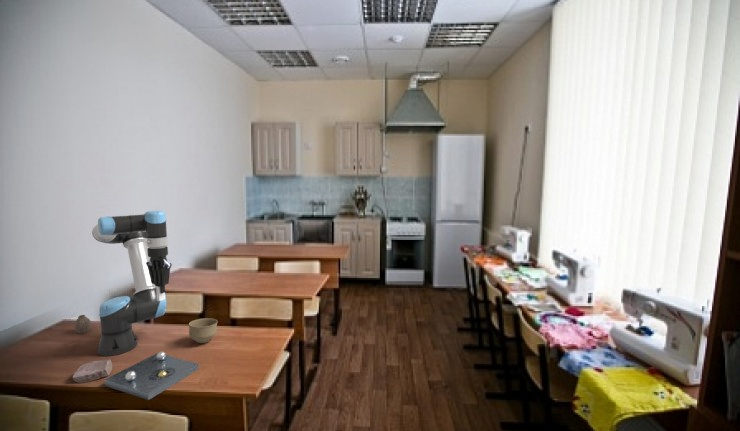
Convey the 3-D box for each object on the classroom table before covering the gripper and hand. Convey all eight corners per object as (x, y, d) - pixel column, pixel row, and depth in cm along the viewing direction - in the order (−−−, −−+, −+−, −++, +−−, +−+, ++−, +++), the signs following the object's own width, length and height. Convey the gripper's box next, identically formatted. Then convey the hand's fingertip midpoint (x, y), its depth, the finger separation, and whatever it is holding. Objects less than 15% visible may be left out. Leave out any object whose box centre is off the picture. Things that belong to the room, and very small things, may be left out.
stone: (79, 374, 144) (78, 363, 143) (114, 368, 149) (113, 357, 148) (70, 386, 136) (69, 374, 135) (108, 379, 140) (107, 368, 140)
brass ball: (154, 379, 138) (157, 370, 138) (161, 376, 141) (164, 368, 141) (160, 383, 137) (163, 374, 137) (168, 380, 140) (171, 371, 140)
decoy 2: (123, 381, 134) (122, 373, 133) (132, 376, 137) (131, 368, 137) (129, 383, 133) (129, 374, 132) (138, 378, 136) (138, 370, 135)
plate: (104, 385, 135) (104, 379, 135) (157, 358, 156) (157, 353, 156) (148, 400, 127) (148, 393, 126) (198, 369, 147) (198, 363, 147)
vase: (71, 334, 180) (69, 317, 179) (84, 328, 187) (82, 312, 186) (82, 335, 179) (80, 318, 178) (95, 329, 185) (93, 313, 185)
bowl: (223, 339, 174) (222, 319, 173) (199, 350, 163) (198, 329, 162) (208, 333, 181) (207, 314, 180) (184, 343, 170) (183, 323, 169)
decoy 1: (154, 361, 149) (154, 353, 148) (162, 357, 152) (161, 349, 152) (160, 362, 147) (160, 354, 147) (168, 358, 151) (167, 350, 150)
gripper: (138, 247, 150) (142, 300, 153) (160, 249, 146) (164, 304, 148) (154, 244, 157) (158, 295, 160) (176, 246, 153) (179, 299, 155)
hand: (161, 299), depth 154 cm, fingers closed
